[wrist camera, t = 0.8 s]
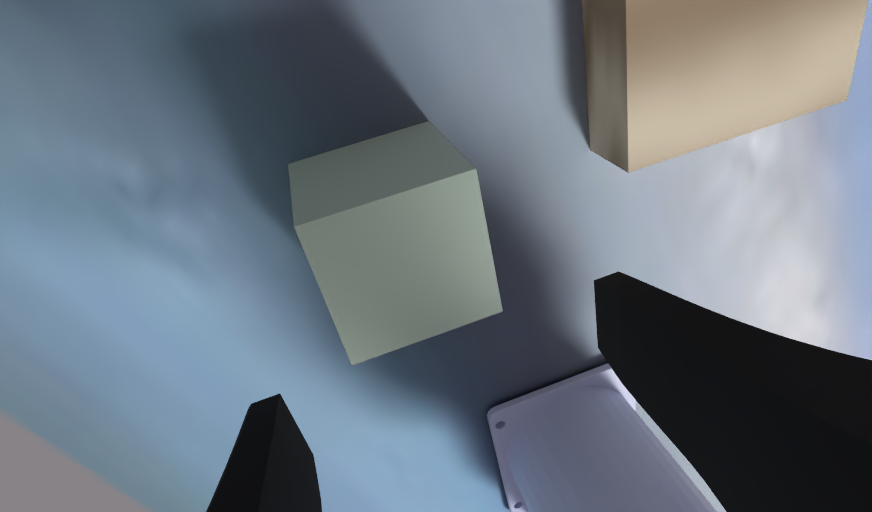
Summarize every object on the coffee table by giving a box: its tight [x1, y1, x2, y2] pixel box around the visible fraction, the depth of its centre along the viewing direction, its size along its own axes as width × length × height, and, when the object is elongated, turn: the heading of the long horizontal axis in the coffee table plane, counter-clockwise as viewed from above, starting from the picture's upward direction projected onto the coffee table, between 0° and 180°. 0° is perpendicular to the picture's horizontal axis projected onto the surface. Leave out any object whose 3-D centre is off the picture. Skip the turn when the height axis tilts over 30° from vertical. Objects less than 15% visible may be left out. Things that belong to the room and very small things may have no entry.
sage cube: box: [288, 121, 503, 365], centre depth 17 cm, size 5×5×5 cm
